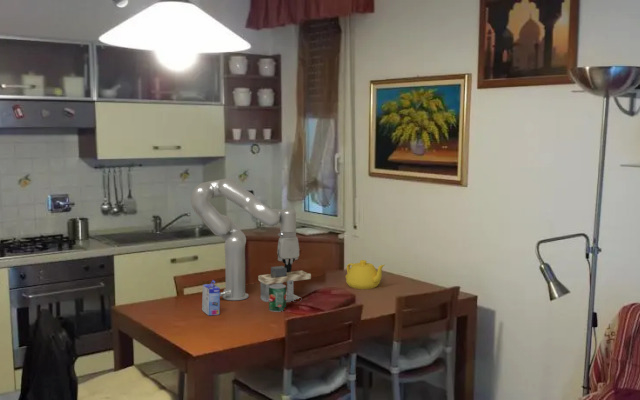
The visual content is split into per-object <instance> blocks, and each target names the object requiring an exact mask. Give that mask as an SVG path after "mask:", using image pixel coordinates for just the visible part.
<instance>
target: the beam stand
mask: <svg viewBox="0 0 640 400" xmlns="http://www.w3.org/2000/svg"><path fill="white" fill-rule="evenodd" d="M283 283H284V282H282V283H275V284H283ZM269 285H270V284H264V283H262V282H260V300H261V301H263V302H265V303H269ZM283 285H284V284H283ZM299 298H301V297H300V296H298V295H296V294H294V281H293V280H287V282H286V303H292V302H291V301H293V302H295V301H294V300H296V299H299Z"/></svg>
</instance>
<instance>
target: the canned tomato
mask: <svg viewBox="0 0 640 400" xmlns="http://www.w3.org/2000/svg"><path fill="white" fill-rule="evenodd" d="M286 291H287V284H286V285H285V284H276V283H274V284H269V302H268V310H269V311H270V312H275V313H280V312H281V311H282V312H284V311H283V310H284V308H285V307H286V308H287V302H286ZM282 312H281V313H282Z"/></svg>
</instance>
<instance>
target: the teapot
mask: <svg viewBox="0 0 640 400" xmlns="http://www.w3.org/2000/svg"><path fill="white" fill-rule="evenodd" d="M384 266H385V264H381V265H379V266H378V268H376V267H375V265H374V264H373V263H369V262H367V260H366V259H361V260H359V262H355V263H353V262H351V263H348V264H347V265H346V273H347V274H346V275H345V282H346V284H347V285H348V286H349V287H350V288H351V289H355V290H370V289H375V288H377V287H378V285H380V282H381V280H382V278H383V277H382V276H383V275H382V270H383V267H384Z"/></svg>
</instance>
